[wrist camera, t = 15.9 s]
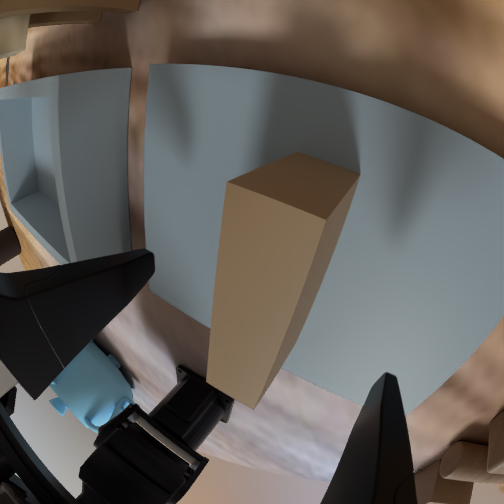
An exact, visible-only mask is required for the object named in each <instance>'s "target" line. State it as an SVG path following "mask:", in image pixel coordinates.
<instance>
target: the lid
mask: <svg viewBox="0 0 504 504" xmlns="http://www.w3.org/2000/svg"><path fill="white" fill-rule="evenodd" d="M144 220H145V241H146V249H148V250H149V251H151V252H153V253H154V256H155V273H154V275H153V276H152V277H151V278H150V280H149V290H150V291H151V292H153V293H154V294H156V295H157V296H159V297H160V298H162V299H163V300H165V301H166V302H168V303H169V304H171V305H172V306H174V307H176V308H177V309H179V310H180V311H182V312H183V313H185V314H187V315H188V316H190V317H191V318H193V319H195V320H196V321H198V322H200V323H201V324H203V325H205V326H206V327H208V328H210V339H209V351H208V364H207V377H206V382H207V383H209V384H210V385H212V386H214V387H215V388H217V389H218V390H220V391H222V392H223V393H225V394H227V395H228V396H230V397H232V398H234V399H235V400H237V401H239V402H241V403H242V404H244V405H246V406H248V407H249V408H251V409H253V410H254V409H255V407H256V406H257V404H258V403H259V401H260V400H261V398H262V397H263V395H264V394H265V392H266V390H267V389H268V387H269V386H270V384H271V383H272V381H273V380H274V378H275V376H276V375H277V373H278V372H279V370H280V368H282V369H284V370H286V371H288V372H290V373H292V374H294V375H296V376H298V377H300V378H302V379H304V380H306V381H308V382H310V383H312V384H314V385H316V386H319V387H321V388H323V389H325V390H327V391H329V392H331V393H334V394H336V395H338V396H340V397H343V398H345V399H347V400H349V401H352V402H354V403H356V404H359V405H361V406H363V405H364V403H365V401H366V398H367V396H368V394H369V391H370V389H371V387H372V386H373V384H374V383H375V382H376V381H377V380H378V379H379V378H380V377H381V376H382V375H383V373H385V372H389V373H391V374H393V375H395V376H396V377H397V379H398V384H399V388H400V393H401V397H402V402H403V407H404V412H405V416H406V415H407V414H408V413H410V412H411V411H412V410H413V409H415V408H416V407H417V406H418V405H419V404H421V403H422V402H423V401H424V400H425V399H426V398H428V397H429V396H430V395H431V394H432V393H433V392H434V391H436V390H437V389H438V388H439V387H440V386H441V385H442V384H443V383H444V382H445V381H446V380H447V379H448V378H449V377H450V376H451V375H452V374H453V373H454V372H455V371H456V370H457V369H458V368H459V367H460V366H461V365H462V364H463V363H464V362H465V361H466V360H467V359H468V358H469V357H470V356H471V355H472V354H473V353H474V351H475V350H476V349H477V348H478V347H479V346H480V345H481V344H482V342H483V341H484V340H485V339H486V338H487V336H488V335H489V334H490V333H491V332H492V330H493V329H494V328H495V327H496V325H497V324H498V323H499V322H500V320H501V319H502V318H503V316H504V159H503V158H502V157H500V156H498V155H497V154H495V153H493V152H492V151H490V150H488V149H487V148H485V147H483V146H481V145H480V144H478V143H476V142H474V141H472V140H471V139H469V138H467V137H465V136H463V135H461V134H459V133H457V132H455V131H453V130H451V129H449V128H447V127H445V126H443V125H441V124H439V123H436V122H434V121H432V120H430V119H428V118H425V117H423V116H421V115H418V114H416V113H413V112H411V111H408V110H406V109H403V108H401V107H398V106H395V105H393V104H390V103H387V102H384V101H382V100H379V99H376V98H373V97H370V96H367V95H363V94H360V93H357V92H354V91H350V90H347V89H343V88H340V87H336V86H332V85H328V84H324V83H320V82H316V81H312V80H307V79H303V78H298V77H293V76H288V75H283V74H277V73H271V72H265V71H258V70H251V69H243V68H234V67H224V66H212V65H195V64H150V71H149V80H148V91H147V103H146V117H145V137H144Z"/></svg>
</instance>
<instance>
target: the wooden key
mask: <svg viewBox="0 0 504 504" xmlns="http://www.w3.org/2000/svg"><path fill="white" fill-rule="evenodd" d="M29 19H30V14H25V15H18V16H12V17H6V18H0V59H1V58H5V57H10V56H14V55H16V54H18V53H20V52H21V51H23V50H25V47H26V39H27V31H28V25H29Z"/></svg>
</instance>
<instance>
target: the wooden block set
mask: <svg viewBox="0 0 504 504" xmlns="http://www.w3.org/2000/svg"><path fill="white" fill-rule="evenodd" d="M414 477H415V486H416V495H417V501H418V504H470V499H471V495H472V489H473V483H474V482H479V483H495V484H504V410H503V411H502V412H501V413H500V414H499V415H498V416H497V417H495V418H494V419H493V420H492V421H491V422H490V428H489V446H485V445H479V444H474V443H469V442H463V441H458V442H455V443H454V444H452V445H451V446H450V447H449V448H448V450H447V451H446V453H445V454H444V456H443V458H442V459H440V460H438V461H437V462H435V463H433V464H432V465H430V466H428V467H427V468H425V469H423V470H421V471H419V472H418V473H416V474H414Z"/></svg>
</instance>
